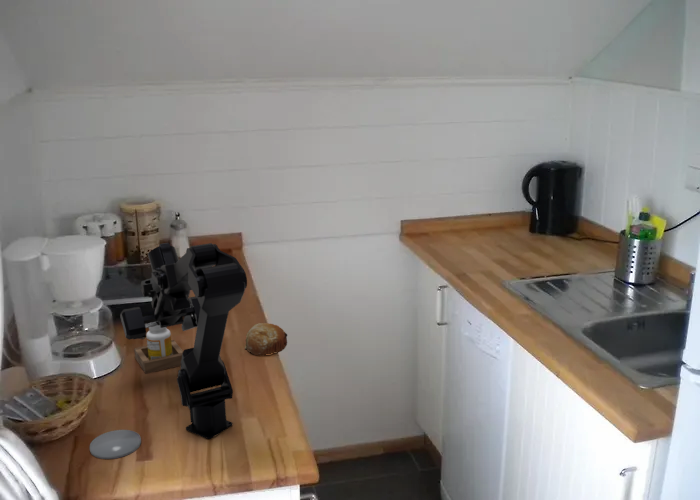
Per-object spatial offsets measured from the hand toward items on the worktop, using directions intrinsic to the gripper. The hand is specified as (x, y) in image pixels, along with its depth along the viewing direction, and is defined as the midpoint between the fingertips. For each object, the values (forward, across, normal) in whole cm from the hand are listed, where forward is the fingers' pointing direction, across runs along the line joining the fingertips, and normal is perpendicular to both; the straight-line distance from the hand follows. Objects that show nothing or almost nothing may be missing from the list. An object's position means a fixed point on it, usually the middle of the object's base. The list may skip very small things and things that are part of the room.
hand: (162, 333), depth 162 cm
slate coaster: (-13, +17, +26) cm, 33 cm away
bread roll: (+6, -24, +7) cm, 26 cm away
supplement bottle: (+9, 0, +3) cm, 10 cm away
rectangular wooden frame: (+9, 0, +3) cm, 10 cm away
